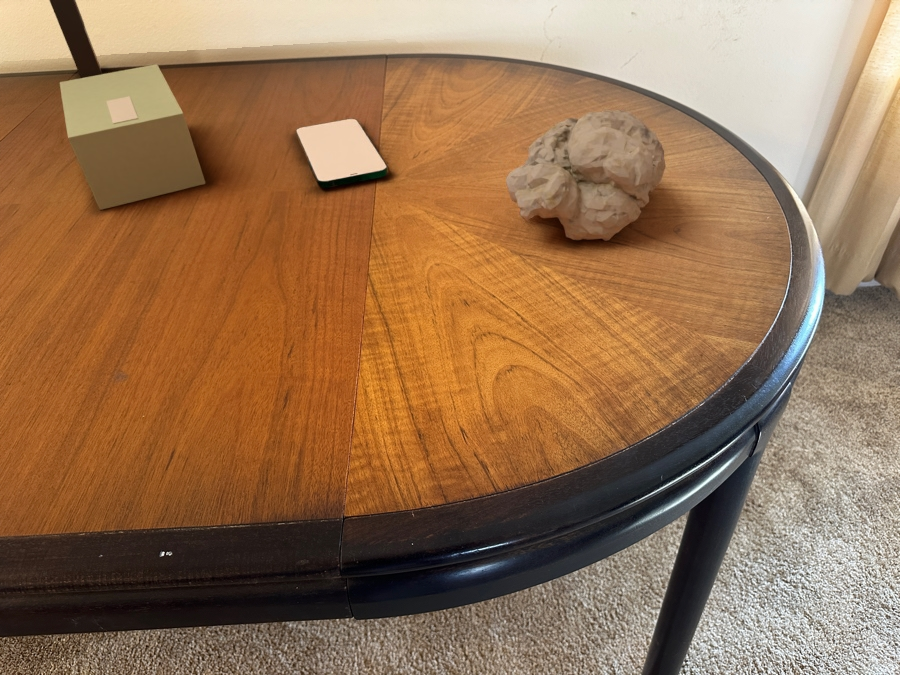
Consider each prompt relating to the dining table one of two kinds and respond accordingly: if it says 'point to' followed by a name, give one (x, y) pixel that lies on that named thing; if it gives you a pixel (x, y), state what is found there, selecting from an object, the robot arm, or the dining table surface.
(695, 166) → the dining table surface
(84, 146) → the tissue box
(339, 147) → the smartphone
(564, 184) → the mineral
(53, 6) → the bar
